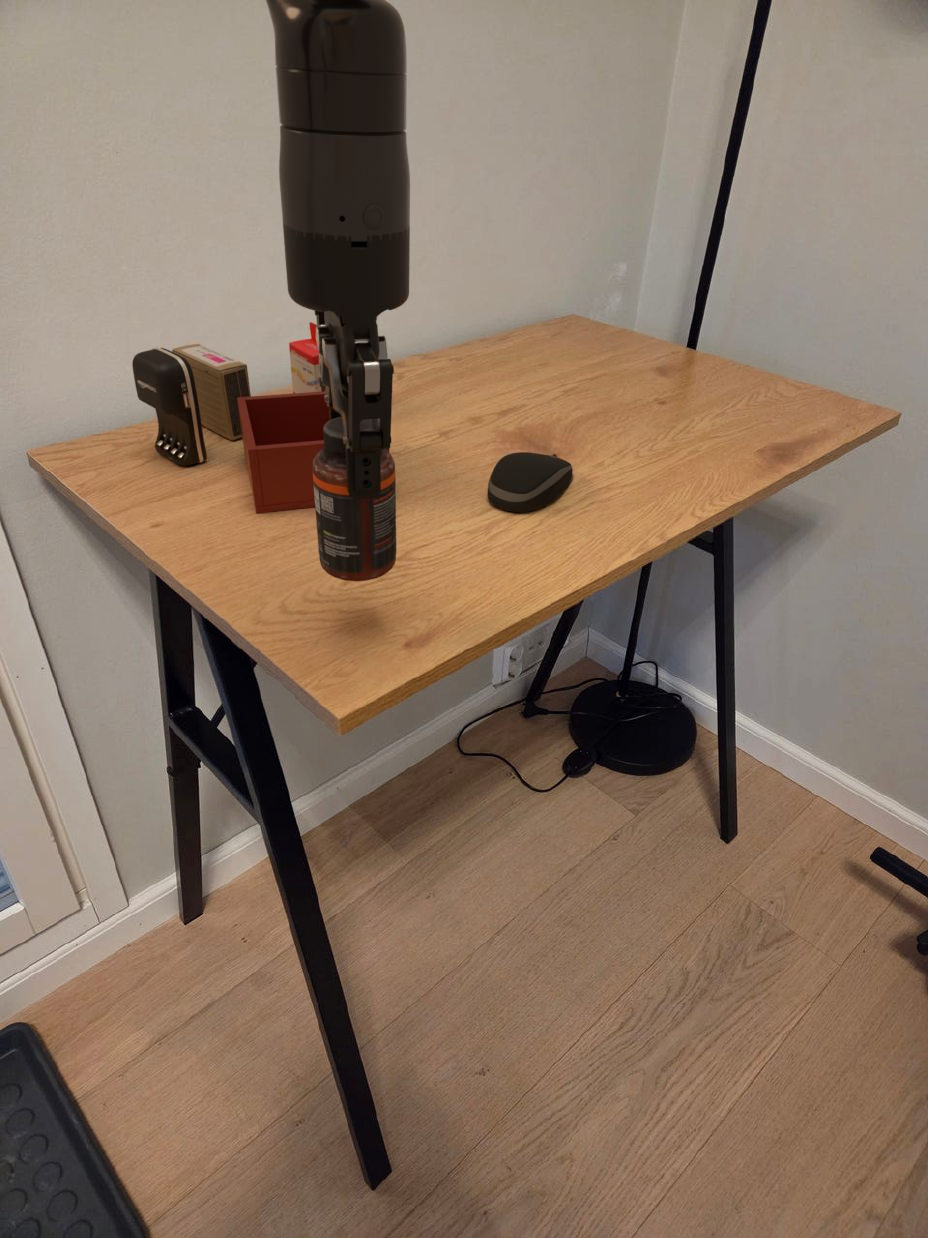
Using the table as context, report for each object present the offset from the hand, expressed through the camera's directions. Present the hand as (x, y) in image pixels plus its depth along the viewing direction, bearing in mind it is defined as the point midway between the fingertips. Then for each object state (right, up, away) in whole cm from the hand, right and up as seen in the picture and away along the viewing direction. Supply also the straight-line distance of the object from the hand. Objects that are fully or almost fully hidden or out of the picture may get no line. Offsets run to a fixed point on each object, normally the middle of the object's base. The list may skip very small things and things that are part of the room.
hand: (355, 474), depth 57 cm
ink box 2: (-11, +16, +43) cm, 47 cm away
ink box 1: (-22, +13, +38) cm, 46 cm away
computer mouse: (+15, +3, +28) cm, 32 cm away
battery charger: (-24, +7, +31) cm, 40 cm away
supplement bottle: (0, -6, +5) cm, 8 cm away
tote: (-8, +5, +28) cm, 30 cm away
